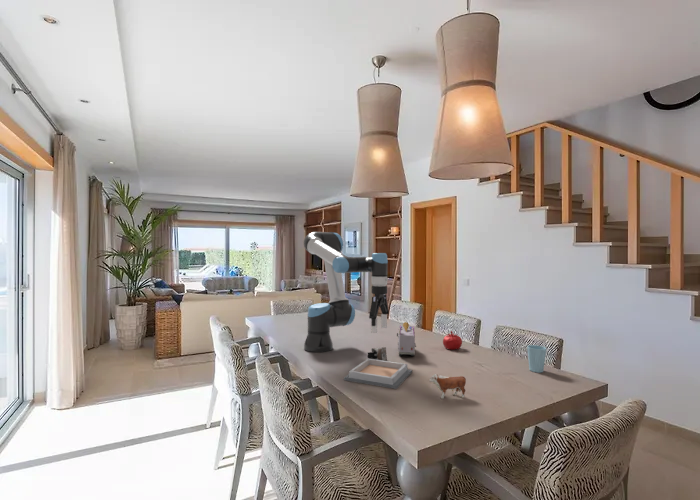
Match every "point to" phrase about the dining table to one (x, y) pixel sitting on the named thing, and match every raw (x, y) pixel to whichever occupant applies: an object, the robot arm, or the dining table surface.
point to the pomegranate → (452, 341)
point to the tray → (379, 373)
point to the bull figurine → (449, 384)
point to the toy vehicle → (406, 340)
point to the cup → (536, 358)
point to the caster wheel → (378, 354)
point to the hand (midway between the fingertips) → (379, 330)
